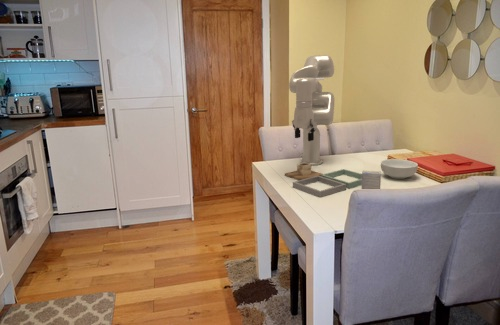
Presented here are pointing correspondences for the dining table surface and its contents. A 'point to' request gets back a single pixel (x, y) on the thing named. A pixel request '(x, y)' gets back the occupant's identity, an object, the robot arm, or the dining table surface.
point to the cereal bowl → (399, 168)
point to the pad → (301, 177)
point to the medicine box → (371, 179)
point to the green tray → (345, 172)
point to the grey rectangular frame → (336, 188)
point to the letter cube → (304, 169)
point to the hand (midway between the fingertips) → (304, 139)
